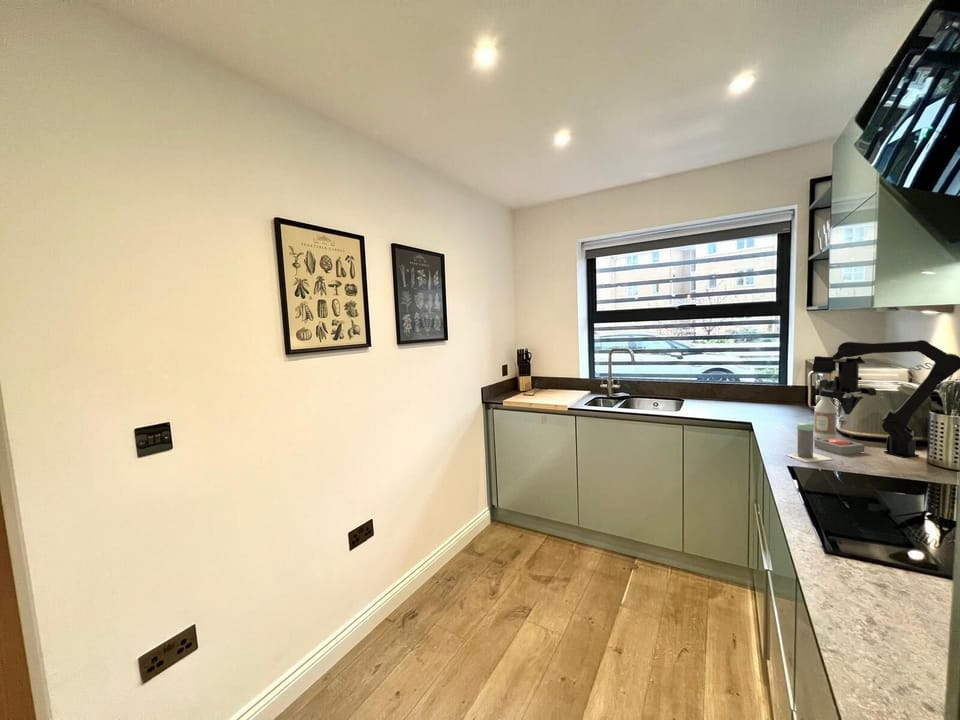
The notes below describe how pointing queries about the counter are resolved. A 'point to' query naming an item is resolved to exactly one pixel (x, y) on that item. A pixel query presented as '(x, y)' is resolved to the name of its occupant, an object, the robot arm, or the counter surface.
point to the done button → (839, 442)
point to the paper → (815, 458)
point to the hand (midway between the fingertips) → (847, 414)
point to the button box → (839, 447)
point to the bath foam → (825, 419)
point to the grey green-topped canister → (805, 440)
